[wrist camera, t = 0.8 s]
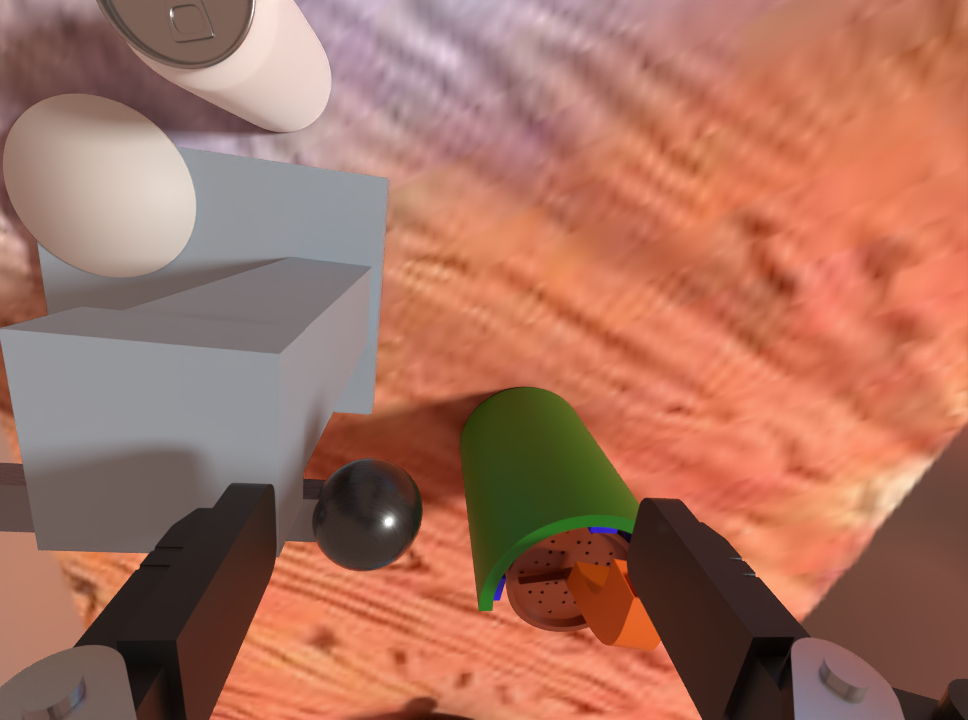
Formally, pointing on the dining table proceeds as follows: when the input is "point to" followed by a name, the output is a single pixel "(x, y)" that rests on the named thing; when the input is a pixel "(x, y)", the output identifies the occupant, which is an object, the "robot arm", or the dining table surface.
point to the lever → (308, 512)
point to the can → (232, 55)
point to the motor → (550, 519)
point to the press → (180, 322)
